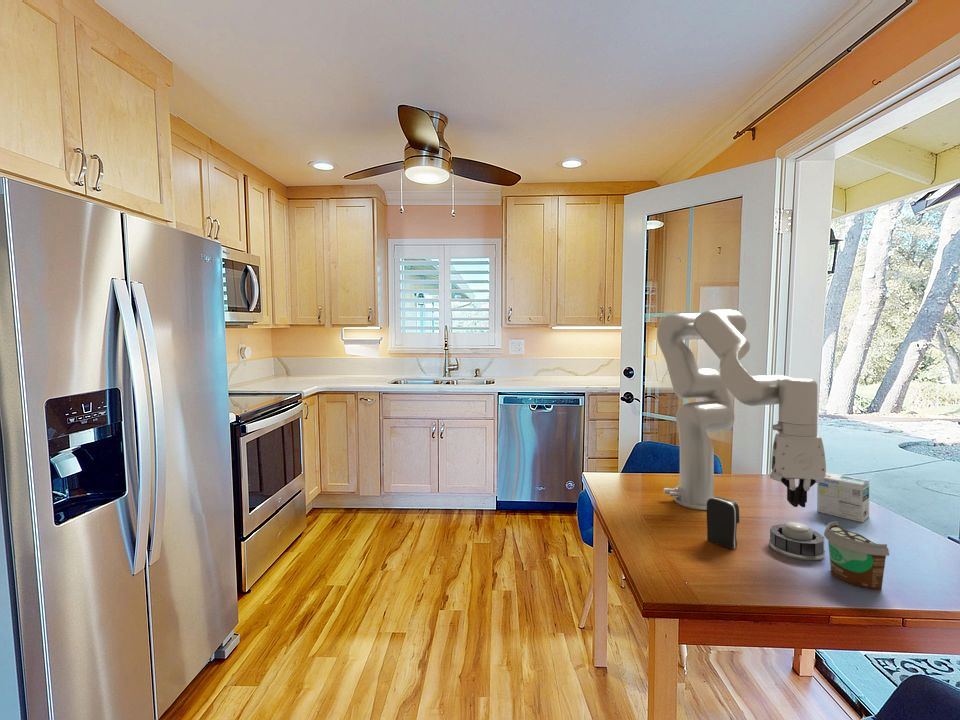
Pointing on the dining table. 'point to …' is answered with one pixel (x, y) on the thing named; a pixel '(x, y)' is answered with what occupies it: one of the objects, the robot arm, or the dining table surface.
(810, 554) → the faceted grey bowl
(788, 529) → the cap
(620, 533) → the dining table surface
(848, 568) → the food container
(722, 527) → the battery charger
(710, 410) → the robot arm
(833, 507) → the light bulb box
